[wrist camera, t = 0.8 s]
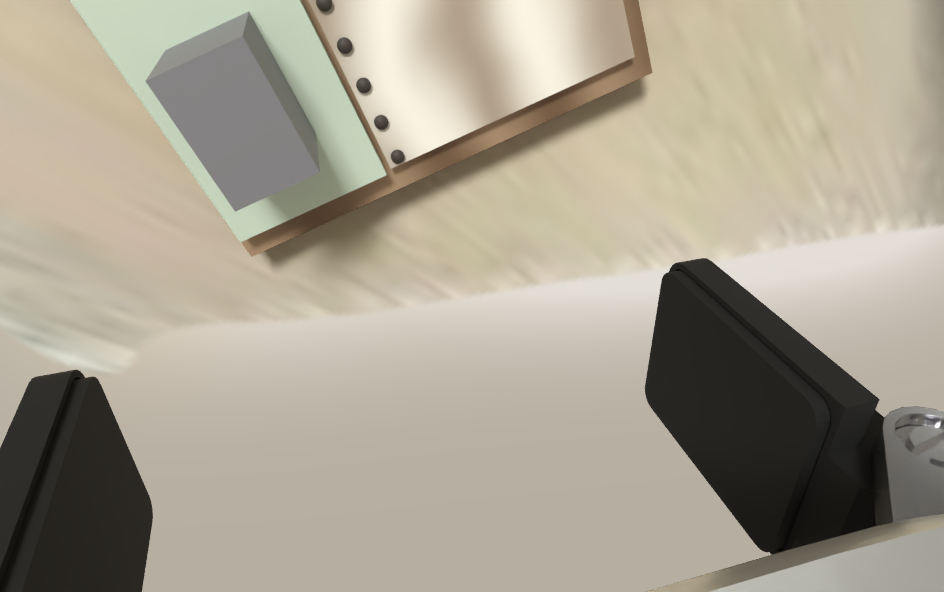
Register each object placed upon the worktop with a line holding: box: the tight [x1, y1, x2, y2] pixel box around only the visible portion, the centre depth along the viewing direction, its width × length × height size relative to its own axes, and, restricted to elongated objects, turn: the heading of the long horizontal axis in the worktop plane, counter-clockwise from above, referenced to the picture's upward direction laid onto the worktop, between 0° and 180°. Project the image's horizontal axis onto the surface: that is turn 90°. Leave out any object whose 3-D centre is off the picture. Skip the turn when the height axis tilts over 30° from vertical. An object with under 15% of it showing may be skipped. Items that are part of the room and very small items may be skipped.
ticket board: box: [242, 0, 652, 257], centre depth 31 cm, size 24×16×3 cm, turn 111°
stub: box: [70, 0, 387, 242], centre depth 28 cm, size 8×13×6 cm, turn 21°
